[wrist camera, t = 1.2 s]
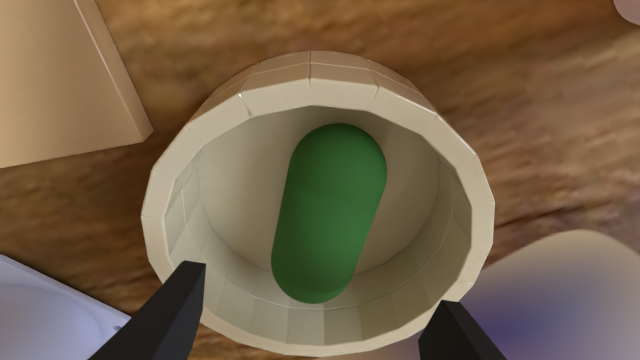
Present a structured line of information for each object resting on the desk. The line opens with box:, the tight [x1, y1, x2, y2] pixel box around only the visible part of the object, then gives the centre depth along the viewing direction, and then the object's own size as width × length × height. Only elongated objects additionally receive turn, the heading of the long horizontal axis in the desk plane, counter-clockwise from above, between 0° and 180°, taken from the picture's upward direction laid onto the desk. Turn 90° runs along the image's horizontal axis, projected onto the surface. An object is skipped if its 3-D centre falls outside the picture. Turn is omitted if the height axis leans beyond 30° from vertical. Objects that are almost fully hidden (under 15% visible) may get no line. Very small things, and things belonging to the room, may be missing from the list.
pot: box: [141, 51, 495, 357], centre depth 15 cm, size 13×13×4 cm
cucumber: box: [271, 123, 387, 304], centre depth 15 cm, size 8×4×4 cm, turn 167°
